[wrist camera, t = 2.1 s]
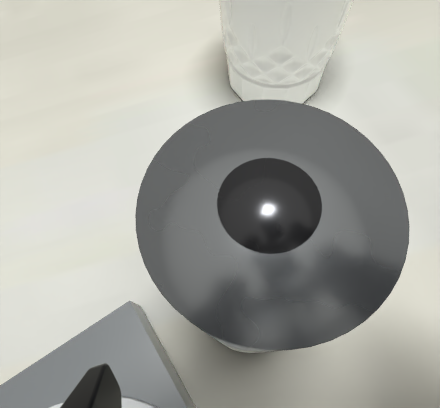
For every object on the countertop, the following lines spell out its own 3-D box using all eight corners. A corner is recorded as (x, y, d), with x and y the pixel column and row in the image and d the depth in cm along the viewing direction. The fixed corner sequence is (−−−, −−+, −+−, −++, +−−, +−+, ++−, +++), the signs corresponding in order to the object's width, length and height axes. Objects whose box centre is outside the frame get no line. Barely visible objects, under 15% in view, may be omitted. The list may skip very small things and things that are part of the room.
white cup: (200, 66, 25) (180, -98, 16) (284, 24, 27) (309, -148, 17) (261, 136, 22) (279, -16, 13) (351, 85, 24) (423, -83, 15)
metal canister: (317, 313, 17) (474, 234, 6) (236, 375, 16) (235, 425, 5) (258, 236, 19) (290, 63, 8) (182, 287, 18) (90, 173, 7)
